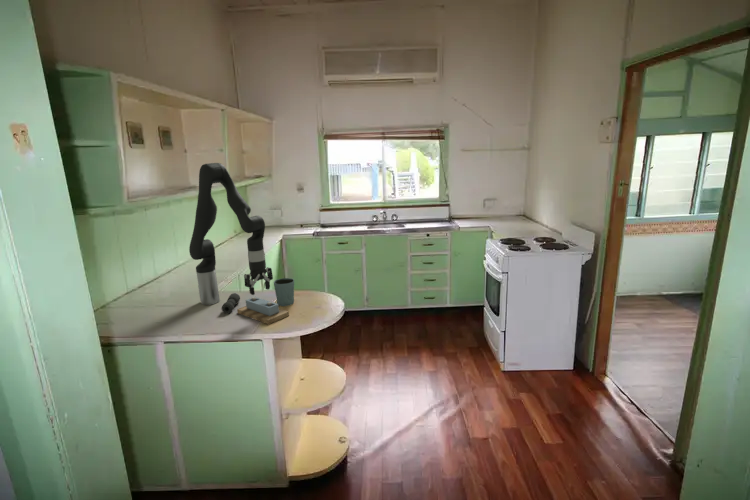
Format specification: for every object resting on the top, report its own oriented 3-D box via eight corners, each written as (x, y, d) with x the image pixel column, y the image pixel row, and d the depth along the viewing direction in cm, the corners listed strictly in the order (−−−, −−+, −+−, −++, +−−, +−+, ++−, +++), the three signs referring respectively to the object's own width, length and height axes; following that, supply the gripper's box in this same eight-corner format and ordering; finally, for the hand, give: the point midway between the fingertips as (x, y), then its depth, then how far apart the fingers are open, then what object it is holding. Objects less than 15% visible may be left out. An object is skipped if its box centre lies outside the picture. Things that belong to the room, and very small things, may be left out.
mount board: (237, 313, 199) (235, 299, 197) (258, 305, 208) (256, 292, 206) (268, 324, 185) (266, 310, 183) (289, 315, 194) (287, 301, 192)
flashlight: (232, 313, 199) (231, 303, 197) (221, 314, 199) (220, 304, 197) (240, 302, 214) (239, 292, 212) (230, 302, 213) (229, 293, 212)
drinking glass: (272, 303, 210) (269, 281, 207) (288, 297, 217) (286, 276, 214) (283, 308, 203) (280, 285, 200) (300, 302, 210) (298, 280, 207)
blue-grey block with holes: (246, 307, 199) (245, 300, 198) (255, 304, 203) (255, 296, 202) (269, 316, 188) (268, 307, 187) (279, 312, 192) (278, 304, 191)
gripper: (264, 254, 197) (267, 286, 201) (238, 261, 186) (242, 294, 190) (274, 256, 193) (277, 289, 197) (248, 264, 182) (252, 298, 186)
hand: (260, 291), depth 194 cm, fingers open, 8 cm apart
